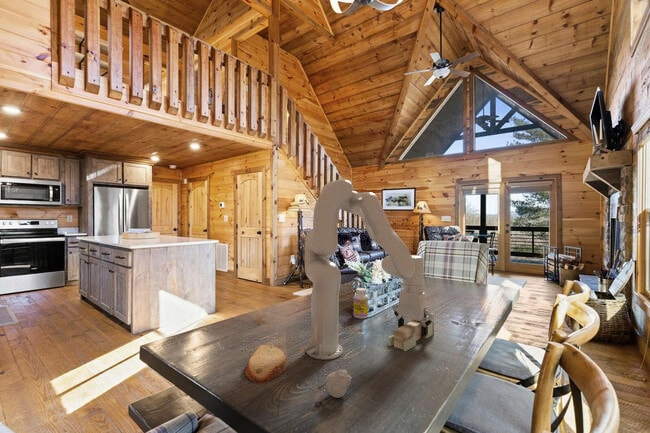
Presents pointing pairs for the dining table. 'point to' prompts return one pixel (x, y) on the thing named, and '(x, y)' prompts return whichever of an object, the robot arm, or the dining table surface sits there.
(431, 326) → the end cap
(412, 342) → the cradle
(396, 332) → the tan rectangular block
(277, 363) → the slice of bread
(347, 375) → the pale grey rounded lump
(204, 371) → the dining table surface
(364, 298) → the supplement bottle
